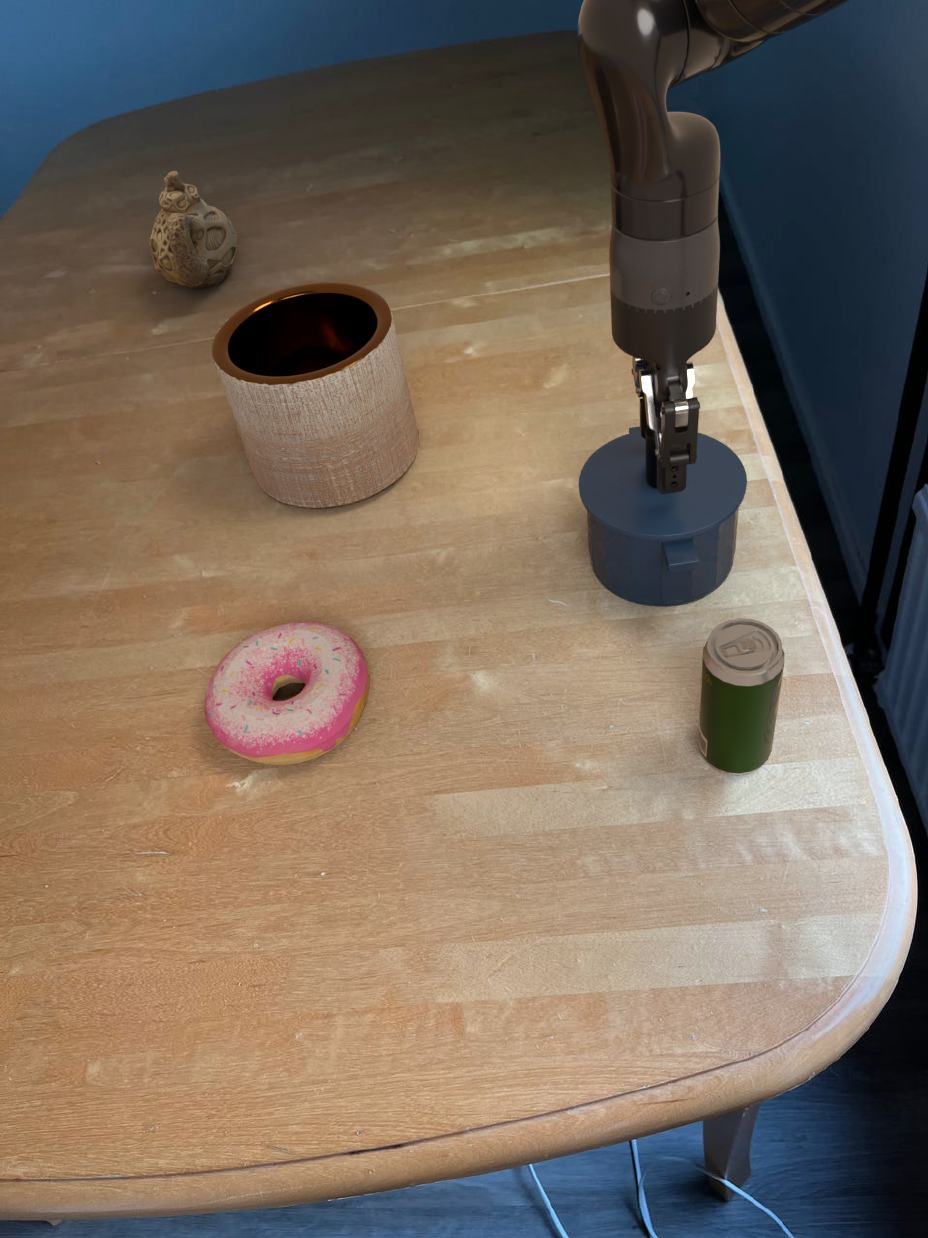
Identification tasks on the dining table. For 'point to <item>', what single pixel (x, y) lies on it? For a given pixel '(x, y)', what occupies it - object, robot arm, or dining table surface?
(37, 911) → the dining table surface
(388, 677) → the dining table surface
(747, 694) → the beer can
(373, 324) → the planter
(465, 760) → the dining table surface
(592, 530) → the blue cooking pot
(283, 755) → the donut
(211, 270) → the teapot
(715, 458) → the lid
